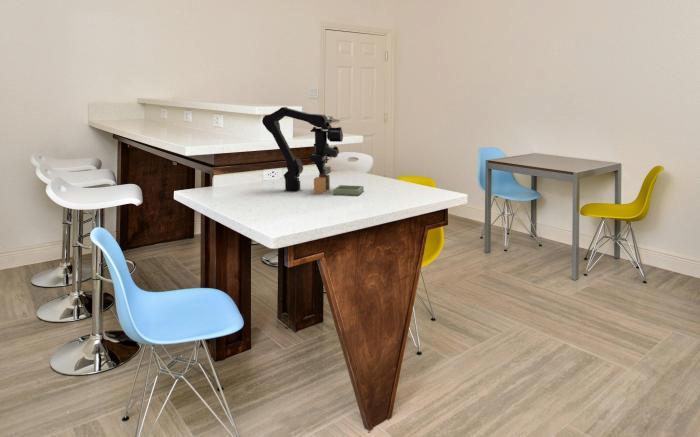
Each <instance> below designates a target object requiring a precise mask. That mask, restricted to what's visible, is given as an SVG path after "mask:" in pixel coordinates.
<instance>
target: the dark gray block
mask: <svg viewBox="0 0 700 437" xmlns="http://www.w3.org/2000/svg"><path fill="white" fill-rule="evenodd" d="M331 170H332V169H331V166H326V165H325V166H324V170H323V174H320V172H319V171H318V172H319V173H318V176H319V175H330V173H331Z"/></svg>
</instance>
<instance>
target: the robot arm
mask: <svg viewBox="0 0 700 437" xmlns="http://www.w3.org/2000/svg"><path fill="white" fill-rule="evenodd" d="M284 117H289V118H292V119H296V120H300V121H303V122H307V123H308V124H310V125H311V126H313V127H312V129H310V132H311V133H314V143H313V147H314V152H313V153H312V154H311V155H310V156H309V157H308V158H309V162H313V163H314V165H315V166H316V168H317V170H318V172H320V174H323V170H324V167H325V166H326V163H327V162H328V161H329V160H330V159H329V158H338V155H339V153H340V149H339V147H338V146H336V145H335V146H333V147H331V146H330V145H329V143H328V140H329V142H332V143H337V142H338V143H342V142H343V140H344V134H343V130H342V127H341V126H338V127H333V126H332V125H331V123H330V122H329V120H328V116H326V114H320V113H317V114H316V113H308V112H306V111H305V112H303V111H300V110H296V109H292V108H289V107H287V106H283V107H282V106H281V107H280V108H279V109H277V110H276V111H274V112H272V113H270V114H266V115H264V116H263V117H262V124H263V126H264V127H265V129H266V130H267V131H268V132H269V133H270V134H271V135H272V137H273V139H274V141H275V143H276V144H277V146H278V149H279V150H280V153H281V154H282V155H283V156H282V157H283V158H284V160H285V164H286V165H285V166H286V168H287V169H286V170H287V171H286V172H285V173H284V174H283V178H284V184H285V189H284V190H283V191H284V192H296V193H297V192H299V191H301V180H300V177H301V176H300V175H301V174H302V173H303V171H304V164H303V163H302V161H301V159H300V157H298V158H296V157H295V155H294V154H293V151H292V149H291V148H290V146H289V144H288V141H287V140H286V138H285V136H284V135H283V132H282V130H281V125H280V122H279V121H280V120H281V121H282V119H283V118H284Z"/></svg>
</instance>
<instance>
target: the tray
mask: <svg viewBox="0 0 700 437" xmlns="http://www.w3.org/2000/svg"><path fill="white" fill-rule="evenodd" d="M362 193H364V185H347V184H346V185H342V184H341V185H338V186H336V187H335V188H334V189H333V194H332V195H333V196H352V197H353V196H356V197H359V196H361V194H362Z"/></svg>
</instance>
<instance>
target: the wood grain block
mask: <svg viewBox="0 0 700 437" xmlns="http://www.w3.org/2000/svg"><path fill="white" fill-rule="evenodd" d="M318 177H326V191H330V188H331V185H330V184H331V183H330V182H331V181H330V174H327V175H319V174H318Z"/></svg>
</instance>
